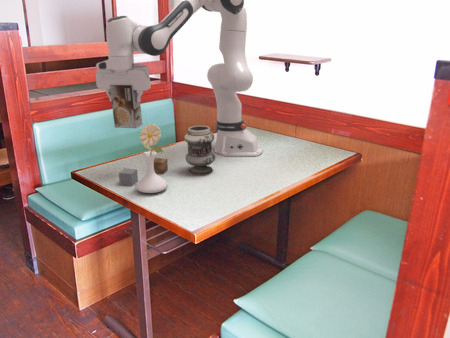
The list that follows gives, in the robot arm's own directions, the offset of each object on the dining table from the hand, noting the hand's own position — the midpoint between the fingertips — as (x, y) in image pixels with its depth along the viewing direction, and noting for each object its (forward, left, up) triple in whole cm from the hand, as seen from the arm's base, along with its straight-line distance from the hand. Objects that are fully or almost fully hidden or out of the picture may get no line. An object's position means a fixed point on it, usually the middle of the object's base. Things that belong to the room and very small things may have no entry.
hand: (125, 101), depth 155 cm
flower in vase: (-15, +14, -29) cm, 35 cm away
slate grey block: (-3, +9, -29) cm, 31 cm away
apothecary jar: (-26, -9, -29) cm, 40 cm away
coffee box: (0, -1, -10) cm, 10 cm away
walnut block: (-10, -5, -29) cm, 31 cm away
